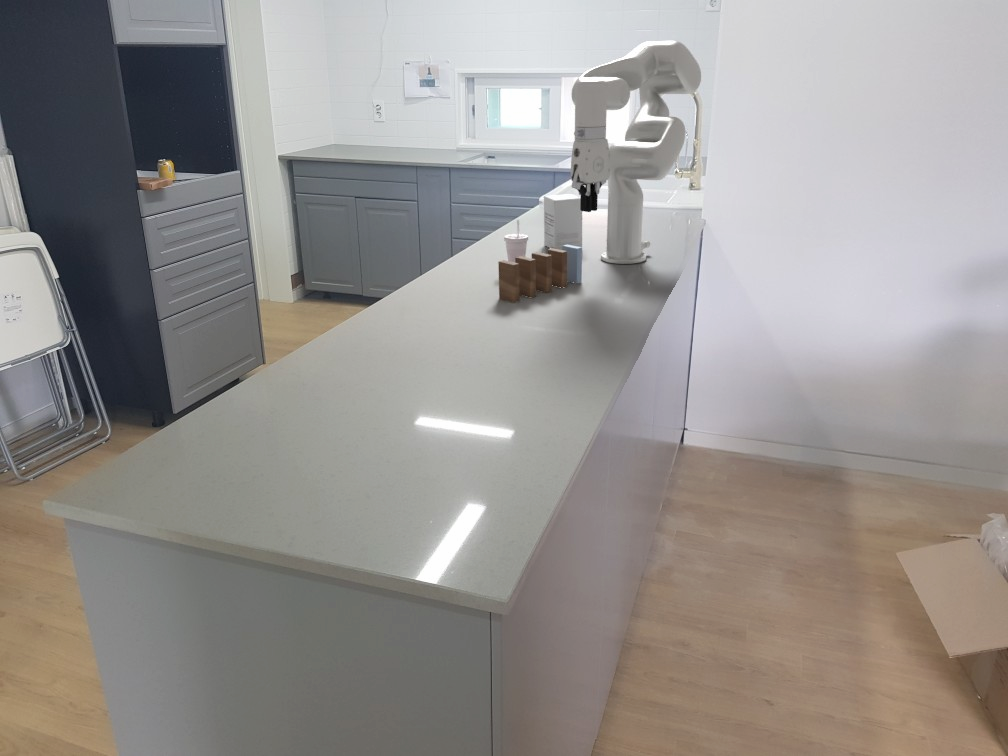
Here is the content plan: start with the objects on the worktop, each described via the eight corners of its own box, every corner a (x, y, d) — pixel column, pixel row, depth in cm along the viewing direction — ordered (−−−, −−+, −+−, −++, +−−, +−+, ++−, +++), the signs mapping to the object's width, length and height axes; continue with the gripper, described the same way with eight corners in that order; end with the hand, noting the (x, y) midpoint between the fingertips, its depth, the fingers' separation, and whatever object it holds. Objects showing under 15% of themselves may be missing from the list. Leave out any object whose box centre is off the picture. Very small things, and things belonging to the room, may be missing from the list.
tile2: (552, 283, 197) (552, 248, 194) (566, 287, 194) (567, 251, 190) (547, 284, 196) (547, 249, 193) (562, 288, 193) (562, 252, 189)
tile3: (537, 287, 194) (536, 252, 190) (551, 291, 190) (551, 255, 187) (531, 289, 193) (531, 253, 189) (546, 293, 189) (546, 256, 186)
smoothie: (526, 275, 205) (525, 222, 199) (502, 275, 206) (501, 221, 200) (530, 269, 210) (530, 217, 205) (507, 268, 212) (506, 217, 206)
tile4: (521, 292, 190) (520, 256, 187) (535, 296, 187) (535, 259, 184) (515, 293, 189) (515, 257, 186) (530, 297, 186) (530, 260, 182)
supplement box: (570, 242, 240) (571, 193, 234) (582, 248, 232) (583, 197, 226) (543, 245, 237) (543, 195, 231) (554, 251, 229) (554, 200, 224)
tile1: (566, 279, 201) (567, 244, 197) (581, 282, 197) (582, 247, 194) (562, 280, 200) (562, 245, 196) (576, 284, 196) (577, 248, 193)
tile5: (504, 297, 187) (504, 260, 183) (519, 301, 183) (518, 263, 180) (499, 298, 186) (498, 261, 182) (513, 302, 182) (513, 265, 179)
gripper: (580, 137, 181) (579, 217, 188) (622, 132, 191) (620, 208, 198) (556, 135, 186) (556, 213, 193) (599, 130, 196) (597, 204, 203)
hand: (588, 210), depth 196 cm, fingers closed
